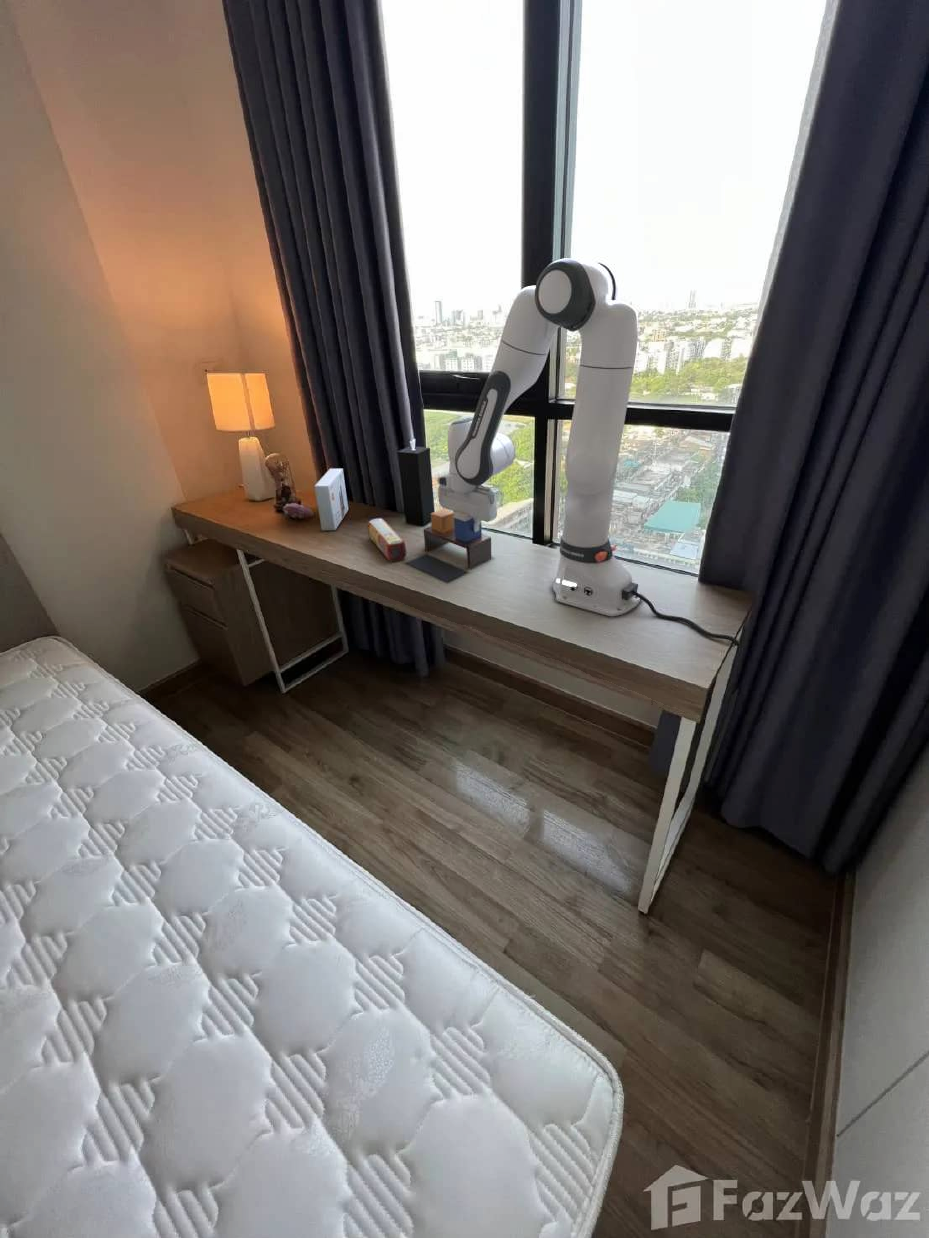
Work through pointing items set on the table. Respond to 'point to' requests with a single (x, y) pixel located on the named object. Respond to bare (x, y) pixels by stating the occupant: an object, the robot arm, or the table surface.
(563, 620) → the table surface
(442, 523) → the ochre box
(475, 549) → the desk shelf
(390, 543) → the snack package
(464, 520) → the dark blue box
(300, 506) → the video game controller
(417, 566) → the felt pad
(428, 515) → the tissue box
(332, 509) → the skincare box
